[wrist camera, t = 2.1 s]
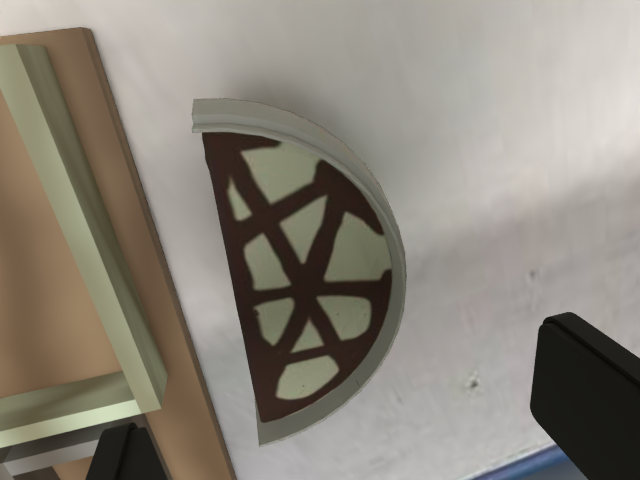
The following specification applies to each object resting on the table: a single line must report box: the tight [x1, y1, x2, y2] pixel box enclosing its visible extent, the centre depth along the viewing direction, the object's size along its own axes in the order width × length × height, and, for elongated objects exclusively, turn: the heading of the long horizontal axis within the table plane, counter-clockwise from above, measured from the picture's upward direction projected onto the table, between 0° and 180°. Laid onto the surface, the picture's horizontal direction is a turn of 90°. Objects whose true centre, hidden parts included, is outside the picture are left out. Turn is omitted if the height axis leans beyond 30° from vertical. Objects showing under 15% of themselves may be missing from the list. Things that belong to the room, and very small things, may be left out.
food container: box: [192, 98, 407, 447], centre depth 17 cm, size 12×6×10 cm, turn 5°
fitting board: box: [0, 27, 237, 480], centre depth 21 cm, size 14×30×4 cm, turn 7°
